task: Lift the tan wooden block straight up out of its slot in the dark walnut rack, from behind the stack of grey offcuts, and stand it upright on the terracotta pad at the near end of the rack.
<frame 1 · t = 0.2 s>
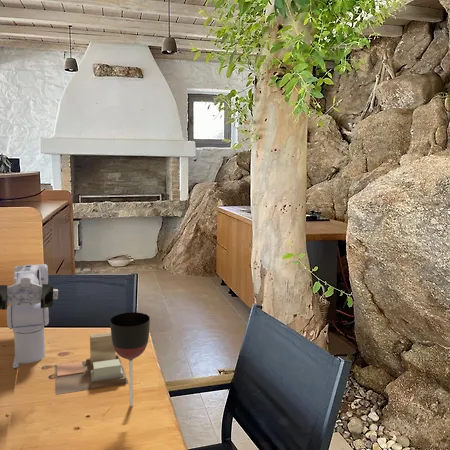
hand: (23, 304, 98), 21 cm above the table, tool horizontal, fingers open, 7 cm apart
tan wooden block: (103, 364, 115), point 1 cm above the table, touching walnut rack
offcut lower: (107, 379, 107), point 1 cm above the table, touching offcut upper, walnut rack
offcut upper: (106, 371, 107), point 3 cm above the table, touching offcut lower
wineglass: (131, 410, 96), on the table
walnut rack: (90, 377, 110), on the table
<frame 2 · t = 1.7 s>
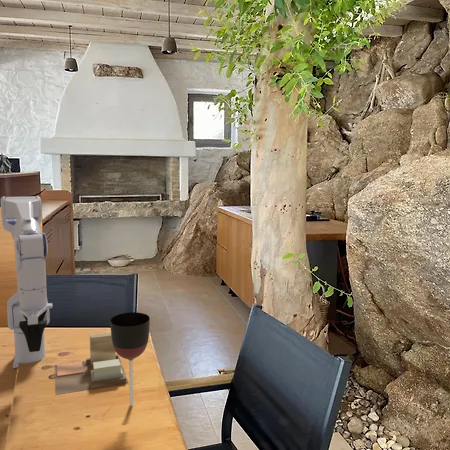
hand: (35, 344, 104), 10 cm above the table, tool pointing down, fingers open, 7 cm apart
nothing on the table moved.
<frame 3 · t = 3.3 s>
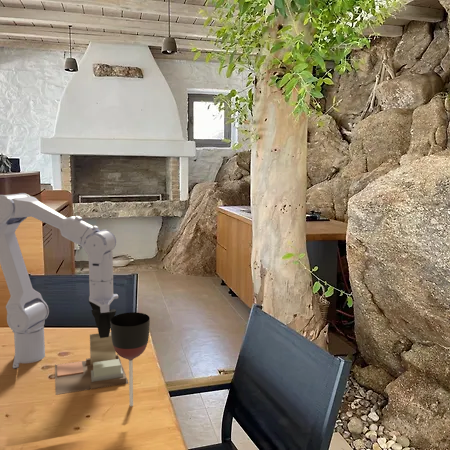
hand: (102, 331, 114), 10 cm above the table, tool pointing down, fingers open, 7 cm apart
nothing on the table moved.
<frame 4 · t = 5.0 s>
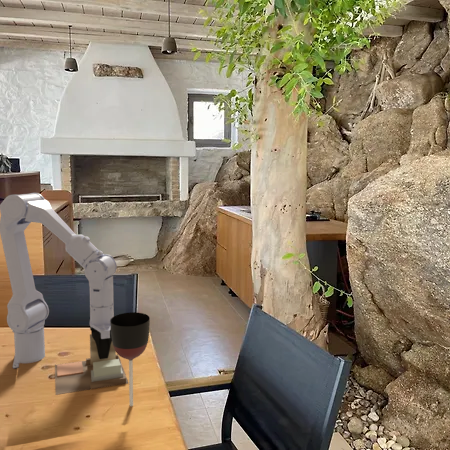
hand: (102, 355, 115), 3 cm above the table, tool pointing down, fingers closed on tan wooden block, 2 cm apart
tan wooden block: (103, 364, 115), point 1 cm above the table, touching gripper, walnut rack
everything else where it was.
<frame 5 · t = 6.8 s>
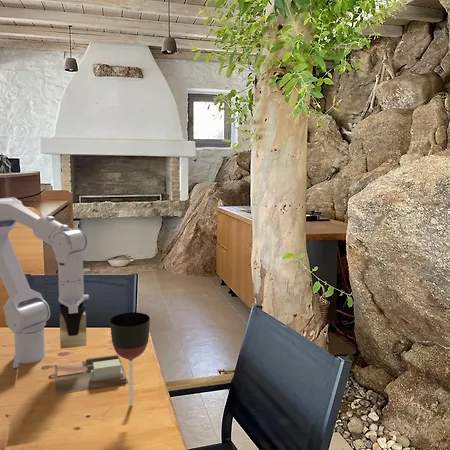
hand: (72, 333, 111), 10 cm above the table, tool pointing down, fingers closed on tan wooden block, 2 cm apart
tan wooden block: (73, 345, 112), point 7 cm above the table, touching gripper
everything else where it was.
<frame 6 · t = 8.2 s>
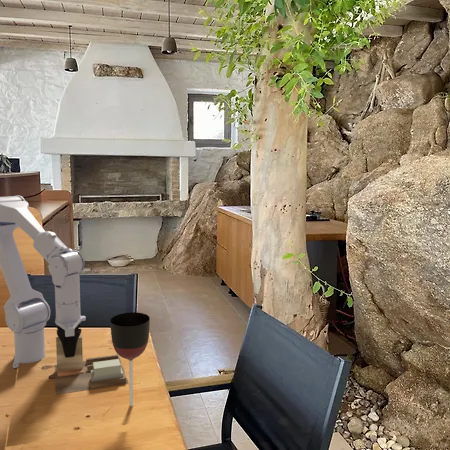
hand: (69, 354, 112), 5 cm above the table, tool pointing down, fingers closed on tan wooden block, 2 cm apart
tan wooden block: (70, 368, 112), point 1 cm above the table, touching gripper, walnut rack
everything else where it was.
when the fingers open (5 cm above the table, at t = 8.9 s): tan wooden block stays where it is, resting on walnut rack.
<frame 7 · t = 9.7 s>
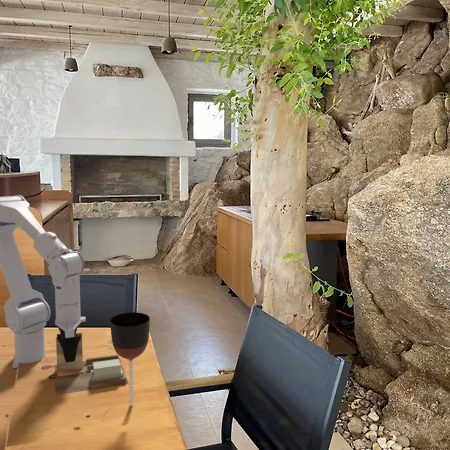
hand: (69, 355, 112), 5 cm above the table, tool pointing down, fingers open, 7 cm apart
tan wooden block: (70, 368, 112), point 1 cm above the table, touching walnut rack
everything else where it was.
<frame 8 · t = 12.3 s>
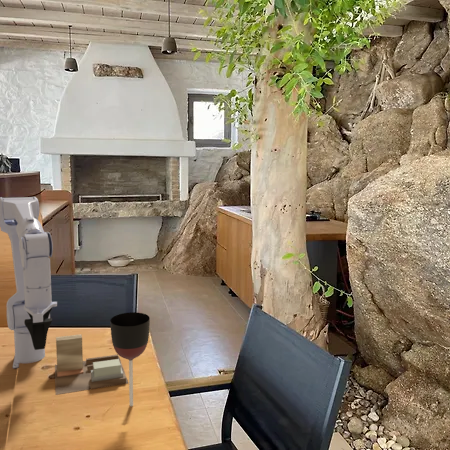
hand: (40, 342, 105), 10 cm above the table, tool pointing down, fingers open, 7 cm apart
nothing on the table moved.
at the end: tan wooden block 0.0 cm from the target spot, point 1.3 cm above the table; tan wooden block tilted 0°; offcut lower moved 0.0 cm from its start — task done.
